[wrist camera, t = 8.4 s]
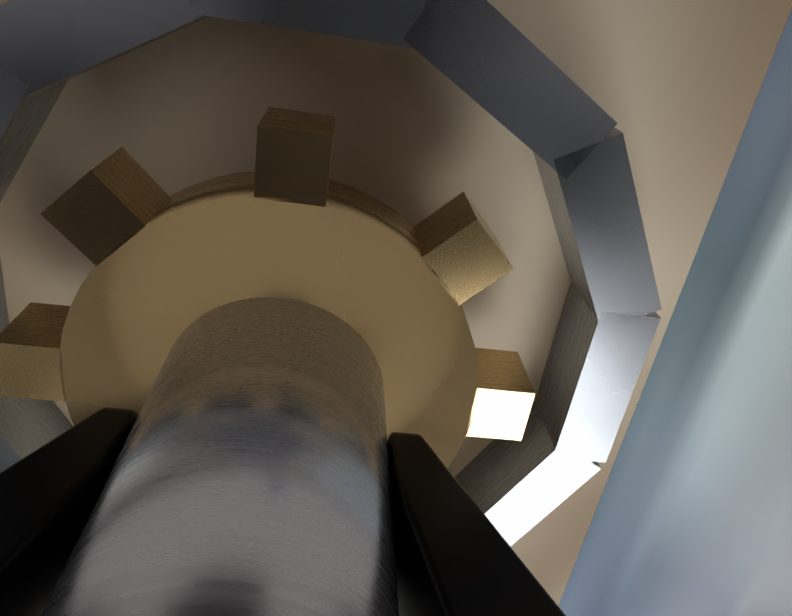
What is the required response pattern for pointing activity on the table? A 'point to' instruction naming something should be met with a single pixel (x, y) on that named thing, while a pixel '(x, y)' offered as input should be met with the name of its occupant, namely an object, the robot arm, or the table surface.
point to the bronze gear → (259, 378)
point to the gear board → (420, 176)
